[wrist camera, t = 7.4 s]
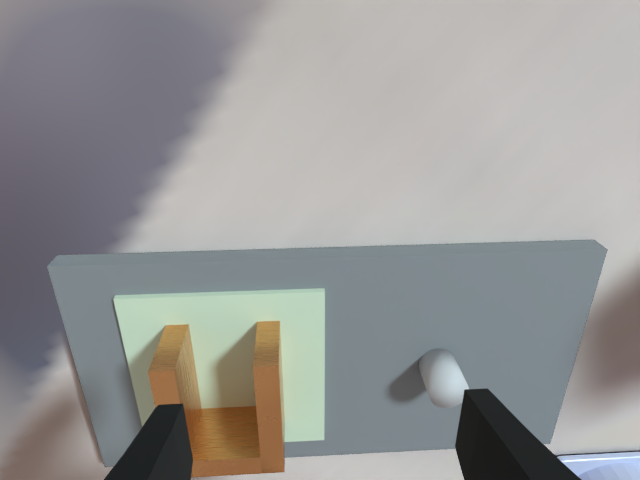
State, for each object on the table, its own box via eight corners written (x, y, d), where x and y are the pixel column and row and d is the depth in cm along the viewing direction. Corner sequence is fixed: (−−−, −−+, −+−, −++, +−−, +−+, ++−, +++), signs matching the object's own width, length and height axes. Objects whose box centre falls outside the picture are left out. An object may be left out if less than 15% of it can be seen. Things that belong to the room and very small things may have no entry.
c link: (284, 419, 24) (284, 472, 21) (183, 424, 23) (170, 478, 21) (280, 320, 21) (278, 366, 18) (165, 325, 21) (147, 371, 18)
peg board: (541, 429, 27) (569, 475, 24) (111, 451, 26) (90, 502, 23) (594, 239, 22) (637, 272, 19) (57, 255, 20) (22, 292, 18)
